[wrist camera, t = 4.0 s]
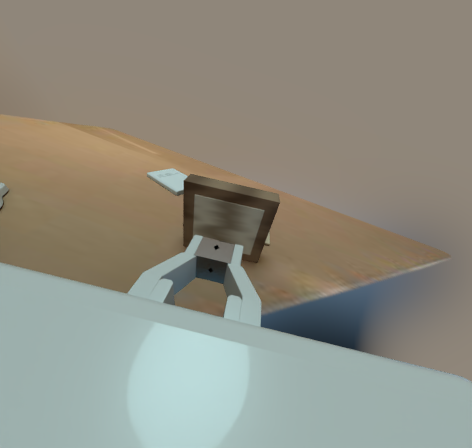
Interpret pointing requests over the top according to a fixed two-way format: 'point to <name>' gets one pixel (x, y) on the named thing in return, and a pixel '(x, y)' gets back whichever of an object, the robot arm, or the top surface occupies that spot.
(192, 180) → the walnut picture frame
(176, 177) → the external hard drive
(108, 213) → the top surface
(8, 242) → the top surface
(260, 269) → the top surface
